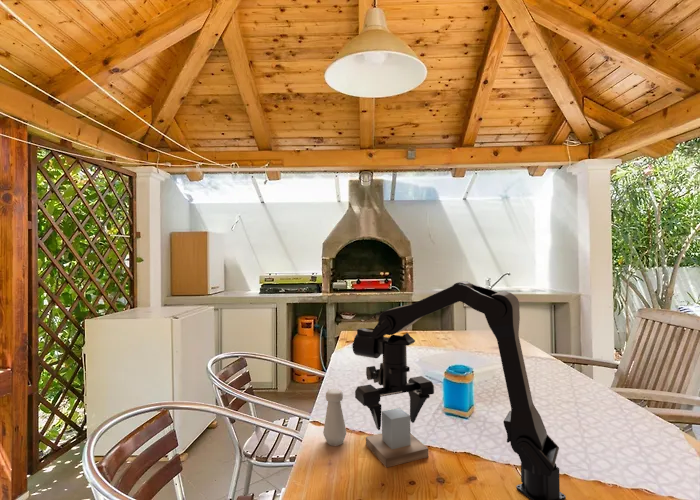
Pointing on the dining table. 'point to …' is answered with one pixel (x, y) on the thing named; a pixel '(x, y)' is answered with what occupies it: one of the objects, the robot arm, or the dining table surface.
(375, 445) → the walnut plinth
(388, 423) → the slate block
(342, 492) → the dining table surface
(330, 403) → the salt shaker
